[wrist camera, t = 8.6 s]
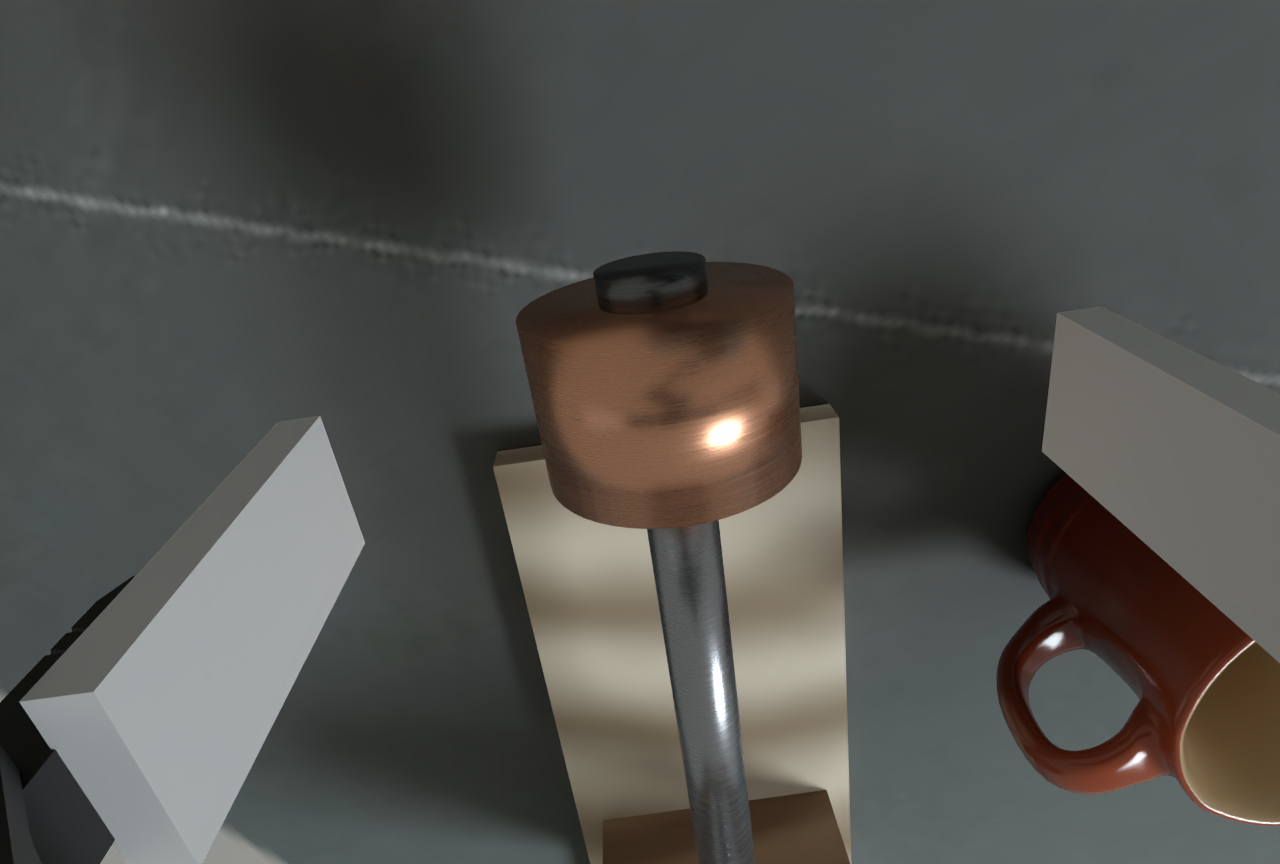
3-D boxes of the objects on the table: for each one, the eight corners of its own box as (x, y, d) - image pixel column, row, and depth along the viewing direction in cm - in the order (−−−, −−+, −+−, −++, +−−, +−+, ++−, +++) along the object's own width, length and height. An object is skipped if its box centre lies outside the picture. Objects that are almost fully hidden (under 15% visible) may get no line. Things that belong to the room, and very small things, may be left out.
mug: (1194, 372, 27) (1503, 522, 18) (1241, 547, 31) (1522, 750, 21) (887, 522, 29) (1020, 726, 20) (962, 671, 33) (1107, 905, 23)
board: (497, 451, 27) (492, 466, 26) (829, 403, 27) (838, 417, 26) (607, 910, 38) (607, 935, 37) (844, 878, 38) (852, 902, 37)
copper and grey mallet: (523, 257, 19) (491, 326, 13) (761, 221, 19) (826, 277, 13) (647, 880, 29) (658, 1064, 24) (803, 858, 29) (850, 1038, 23)
